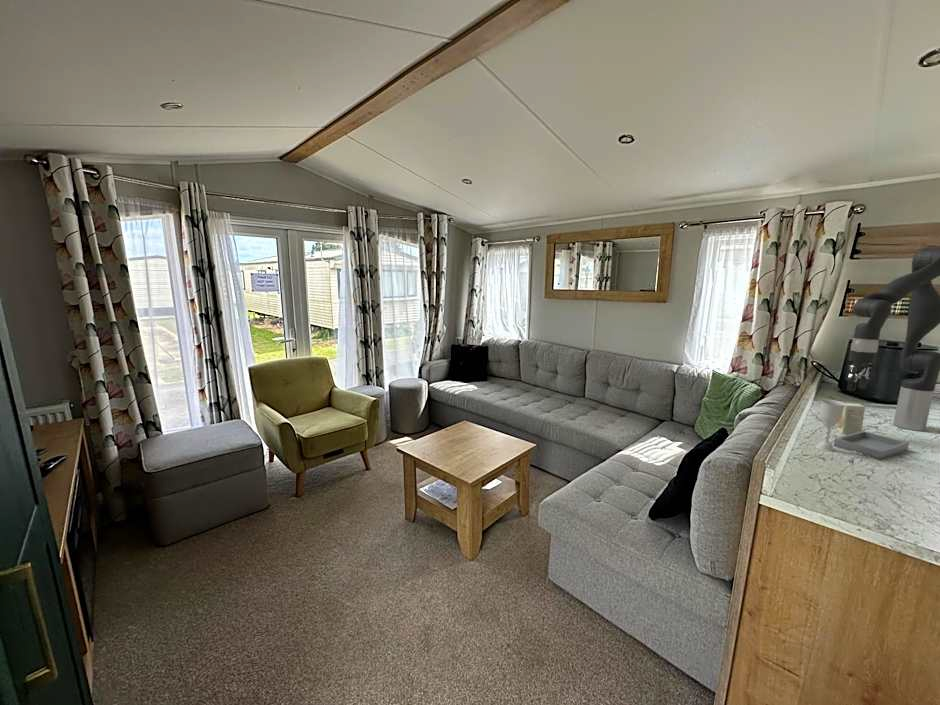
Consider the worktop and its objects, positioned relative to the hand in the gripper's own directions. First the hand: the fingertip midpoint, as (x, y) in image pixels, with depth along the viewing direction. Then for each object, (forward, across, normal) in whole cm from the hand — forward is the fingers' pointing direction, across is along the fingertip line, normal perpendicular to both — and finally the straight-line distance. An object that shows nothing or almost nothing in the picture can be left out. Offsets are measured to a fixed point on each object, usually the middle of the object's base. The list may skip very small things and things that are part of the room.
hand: (856, 389), depth 156 cm
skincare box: (+19, 0, 0) cm, 19 cm away
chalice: (+19, +28, +5) cm, 34 cm away
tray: (+19, +12, +11) cm, 25 cm away
